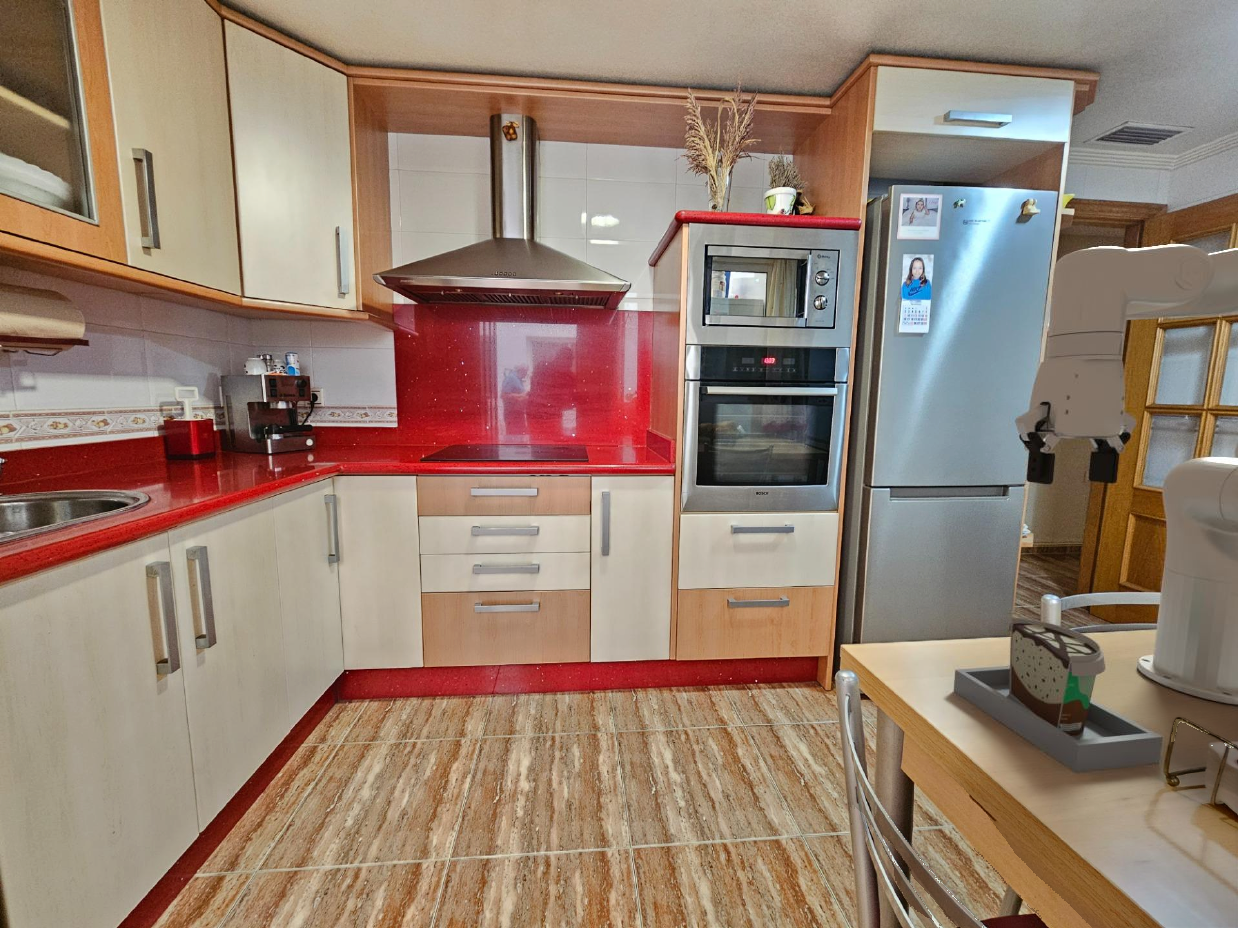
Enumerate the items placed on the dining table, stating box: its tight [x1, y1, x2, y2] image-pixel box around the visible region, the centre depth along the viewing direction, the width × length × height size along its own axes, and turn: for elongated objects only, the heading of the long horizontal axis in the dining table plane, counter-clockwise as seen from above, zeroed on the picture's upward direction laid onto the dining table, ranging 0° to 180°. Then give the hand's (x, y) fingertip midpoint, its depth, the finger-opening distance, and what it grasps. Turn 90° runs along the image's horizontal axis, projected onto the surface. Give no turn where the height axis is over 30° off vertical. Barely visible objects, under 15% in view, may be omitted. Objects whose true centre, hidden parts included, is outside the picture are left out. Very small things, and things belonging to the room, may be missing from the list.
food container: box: [1007, 616, 1106, 736], centre depth 65 cm, size 12×6×10 cm, turn 173°
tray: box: [953, 665, 1163, 773], centre depth 66 cm, size 11×17×3 cm, turn 9°
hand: (1070, 482), depth 72 cm, fingers open, 9 cm apart
